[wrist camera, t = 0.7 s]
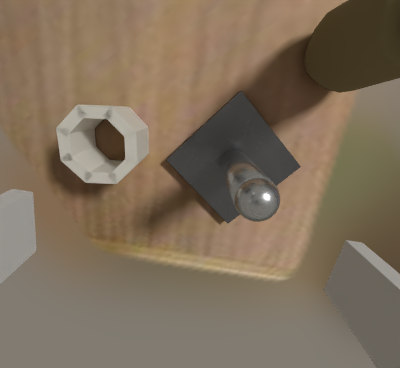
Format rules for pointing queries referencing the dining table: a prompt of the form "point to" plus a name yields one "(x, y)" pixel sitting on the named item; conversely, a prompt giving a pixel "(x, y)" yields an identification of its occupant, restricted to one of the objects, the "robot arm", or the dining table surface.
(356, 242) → the robot arm
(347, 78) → the squeeze bottle
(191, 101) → the dining table surface
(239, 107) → the post
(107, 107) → the ring
